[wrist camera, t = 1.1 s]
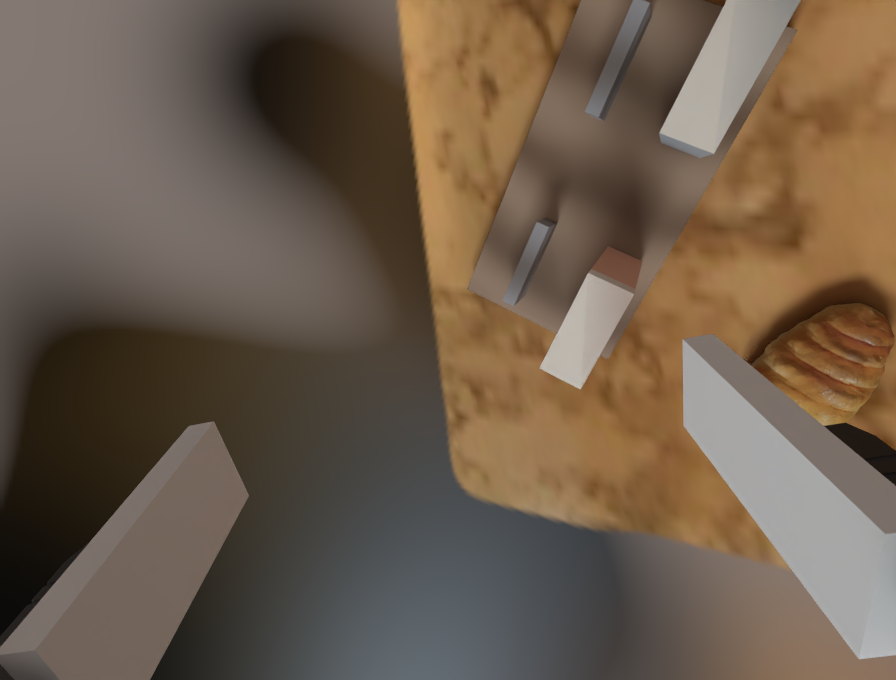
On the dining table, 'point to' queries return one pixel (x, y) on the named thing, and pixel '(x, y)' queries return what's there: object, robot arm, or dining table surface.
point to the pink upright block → (593, 317)
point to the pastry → (830, 360)
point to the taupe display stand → (605, 159)
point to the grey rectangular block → (724, 73)
